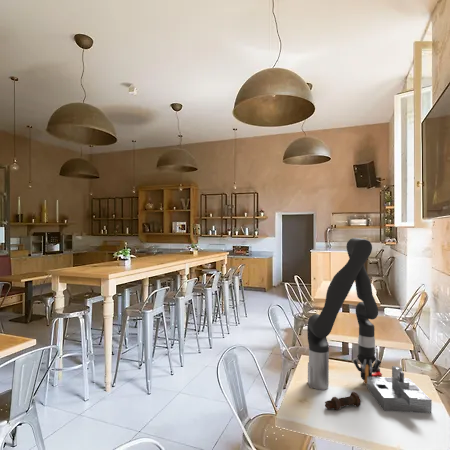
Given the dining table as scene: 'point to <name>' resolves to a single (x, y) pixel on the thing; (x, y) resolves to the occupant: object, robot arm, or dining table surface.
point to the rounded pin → (366, 373)
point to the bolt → (343, 401)
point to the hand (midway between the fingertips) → (366, 379)
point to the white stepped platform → (398, 393)
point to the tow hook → (378, 367)
